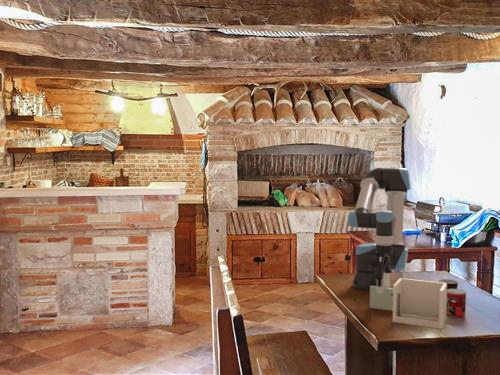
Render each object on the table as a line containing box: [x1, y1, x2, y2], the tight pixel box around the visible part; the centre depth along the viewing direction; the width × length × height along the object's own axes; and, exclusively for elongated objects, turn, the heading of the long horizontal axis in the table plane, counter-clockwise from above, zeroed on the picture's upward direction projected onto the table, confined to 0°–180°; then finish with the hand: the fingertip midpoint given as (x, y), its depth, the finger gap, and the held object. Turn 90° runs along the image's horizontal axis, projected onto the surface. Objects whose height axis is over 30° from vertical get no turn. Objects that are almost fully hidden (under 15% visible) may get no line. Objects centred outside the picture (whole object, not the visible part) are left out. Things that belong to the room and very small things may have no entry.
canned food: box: [446, 288, 467, 319], centre depth 233 cm, size 8×8×11 cm
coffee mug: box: [438, 278, 459, 290], centre depth 255 cm, size 12×9×10 cm
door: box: [369, 286, 393, 312], centre depth 242 cm, size 12×3×10 cm, turn 63°
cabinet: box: [392, 277, 447, 330], centre depth 225 cm, size 20×14×16 cm
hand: (383, 290), depth 242 cm, fingers open, 13 cm apart
